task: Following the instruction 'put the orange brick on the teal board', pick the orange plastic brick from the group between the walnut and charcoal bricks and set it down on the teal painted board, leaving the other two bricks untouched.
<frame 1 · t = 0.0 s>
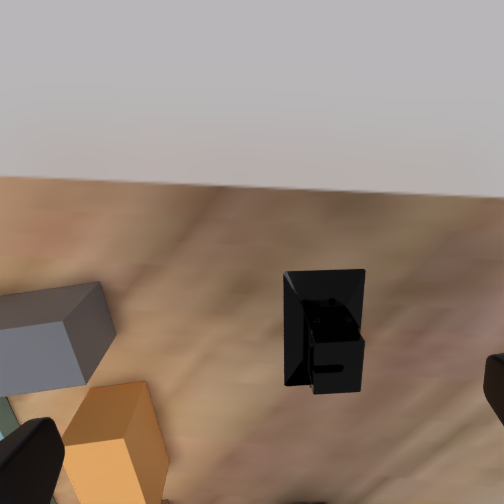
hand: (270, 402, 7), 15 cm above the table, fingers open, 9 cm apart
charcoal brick: (49, 316, 23), on the table
black angular block: (320, 325, 24), on the table
orange brick: (132, 426, 26), on the table
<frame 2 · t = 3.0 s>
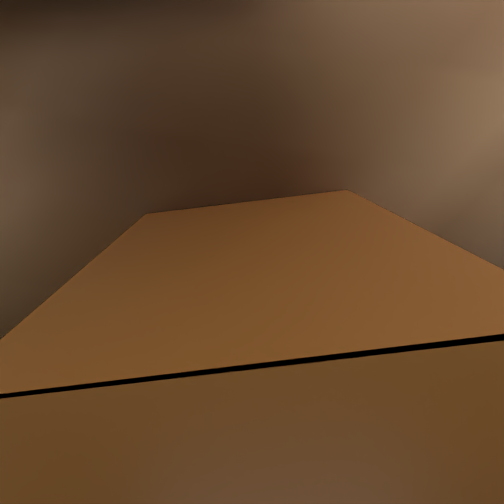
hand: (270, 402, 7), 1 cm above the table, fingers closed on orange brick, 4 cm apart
orange brick: (266, 369, 8), on the table, touching gripper
when the fingers open (3 cm above the table, at t = 7.9 s): orange brick stays where it is, resting on teal board.
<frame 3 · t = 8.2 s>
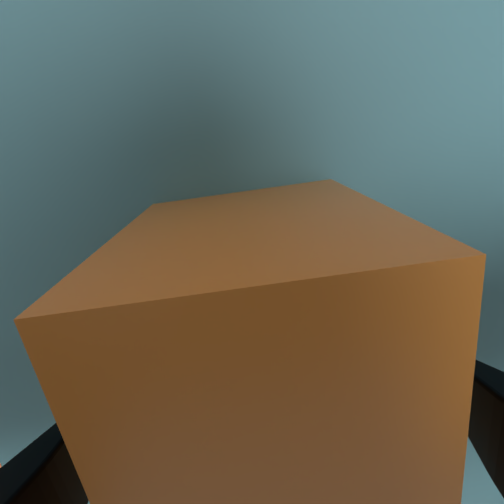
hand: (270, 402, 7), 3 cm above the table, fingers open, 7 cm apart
orange brick: (263, 343, 9), point 1 cm above the table, touching teal board
teal board: (258, 316, 10), on the table
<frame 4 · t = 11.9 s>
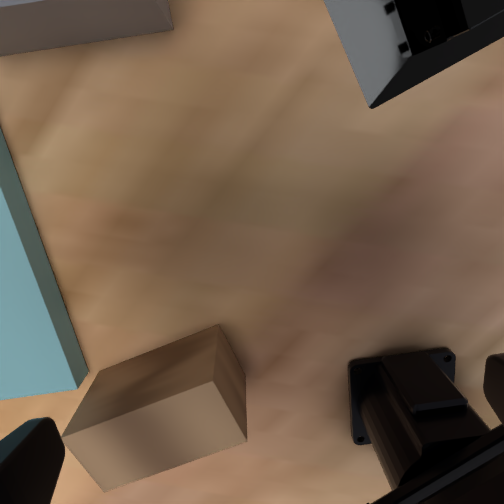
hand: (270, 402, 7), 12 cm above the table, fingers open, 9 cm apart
black angular block: (432, 6, 16), on the table
walnut brick: (173, 371, 21), on the table
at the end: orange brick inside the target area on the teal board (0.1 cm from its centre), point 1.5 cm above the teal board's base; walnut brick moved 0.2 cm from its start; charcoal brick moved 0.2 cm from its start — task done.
